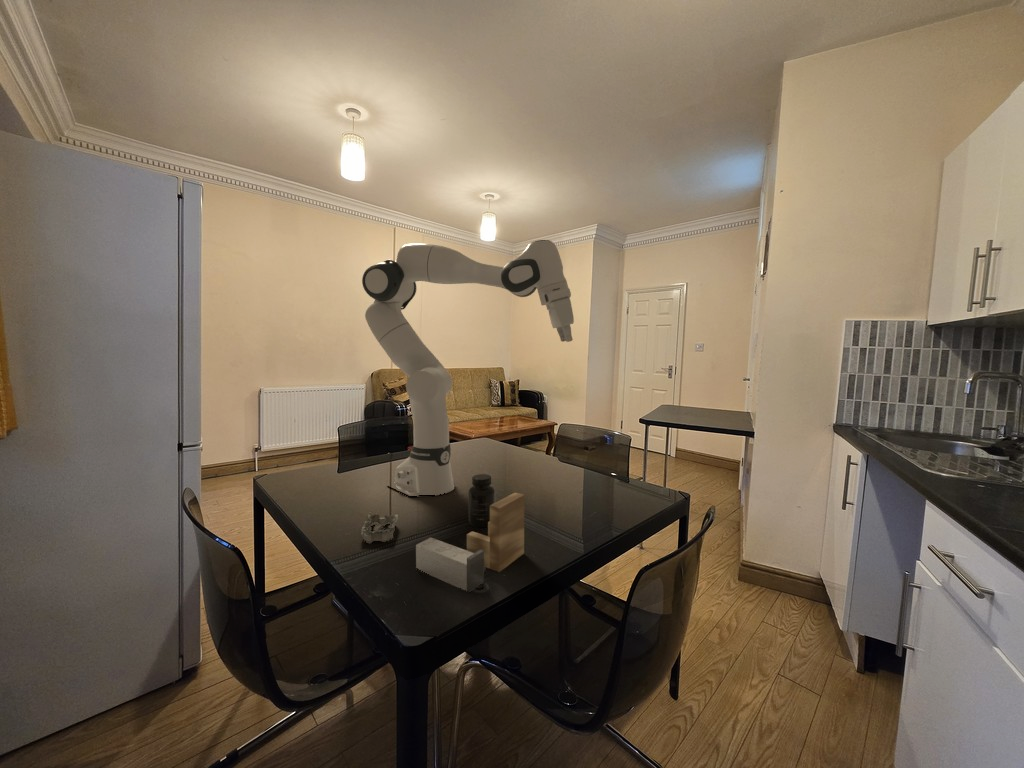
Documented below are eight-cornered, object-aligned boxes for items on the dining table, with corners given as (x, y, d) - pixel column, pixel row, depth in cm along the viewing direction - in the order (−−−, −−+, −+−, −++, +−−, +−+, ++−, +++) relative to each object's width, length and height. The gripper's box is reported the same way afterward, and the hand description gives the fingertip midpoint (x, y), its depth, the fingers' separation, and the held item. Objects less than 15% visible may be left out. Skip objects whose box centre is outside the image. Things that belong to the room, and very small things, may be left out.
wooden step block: (466, 559, 83) (466, 499, 82) (492, 543, 91) (492, 487, 90) (499, 572, 79) (499, 508, 78) (523, 553, 86) (524, 494, 85)
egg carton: (369, 526, 100) (369, 510, 100) (400, 524, 101) (399, 509, 101) (358, 546, 89) (357, 528, 89) (392, 544, 90) (392, 526, 90)
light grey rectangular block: (416, 569, 80) (415, 539, 79) (430, 560, 83) (430, 531, 82) (470, 592, 72) (470, 559, 71) (483, 582, 75) (483, 550, 75)
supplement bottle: (470, 516, 105) (470, 472, 105) (496, 517, 105) (496, 472, 104) (466, 528, 99) (466, 480, 98) (494, 528, 98) (494, 481, 98)
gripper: (540, 301, 127) (552, 343, 129) (548, 294, 107) (561, 344, 108) (559, 296, 127) (570, 338, 129) (570, 288, 107) (583, 338, 108)
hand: (566, 341), depth 118 cm, fingers open, 8 cm apart
